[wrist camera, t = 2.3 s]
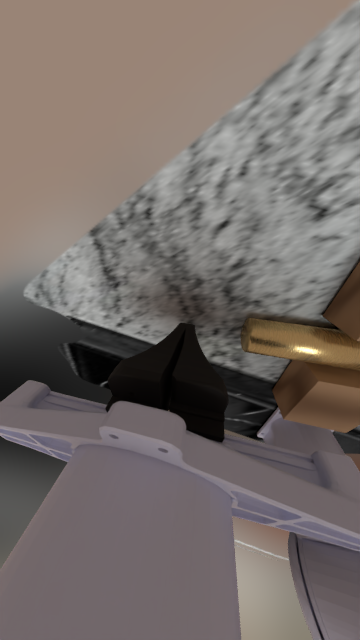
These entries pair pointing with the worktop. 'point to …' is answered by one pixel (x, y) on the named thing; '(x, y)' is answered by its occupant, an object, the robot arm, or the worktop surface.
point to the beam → (326, 374)
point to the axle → (301, 343)
